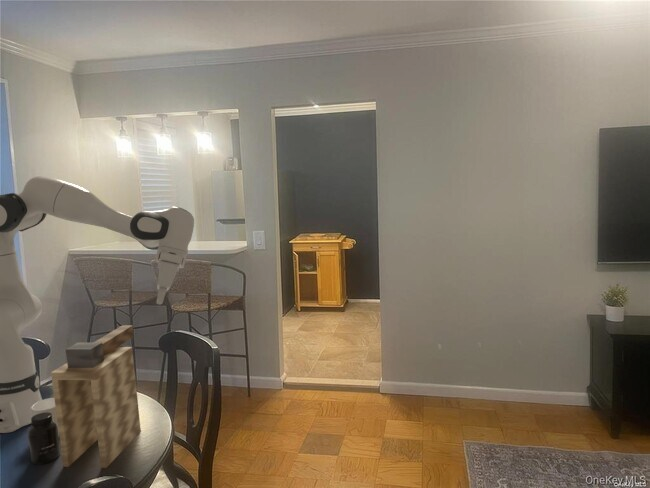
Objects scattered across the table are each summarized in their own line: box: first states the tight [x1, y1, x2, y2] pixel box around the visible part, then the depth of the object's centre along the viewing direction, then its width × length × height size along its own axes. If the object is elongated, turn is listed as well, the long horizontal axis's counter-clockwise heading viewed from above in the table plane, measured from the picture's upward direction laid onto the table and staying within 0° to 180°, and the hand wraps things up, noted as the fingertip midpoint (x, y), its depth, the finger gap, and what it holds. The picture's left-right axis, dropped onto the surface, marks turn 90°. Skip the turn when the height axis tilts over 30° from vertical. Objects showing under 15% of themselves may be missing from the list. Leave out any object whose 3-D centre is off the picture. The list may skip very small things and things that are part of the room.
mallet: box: [65, 324, 135, 368], centre depth 133 cm, size 24×7×5 cm, turn 174°
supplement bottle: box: [27, 412, 61, 465], centre depth 127 cm, size 7×7×12 cm
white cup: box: [31, 397, 59, 436], centre depth 138 cm, size 8×8×10 cm
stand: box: [50, 346, 142, 469], centre depth 129 cm, size 18×12×26 cm, turn 174°
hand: (158, 303), depth 141 cm, fingers open, 8 cm apart
